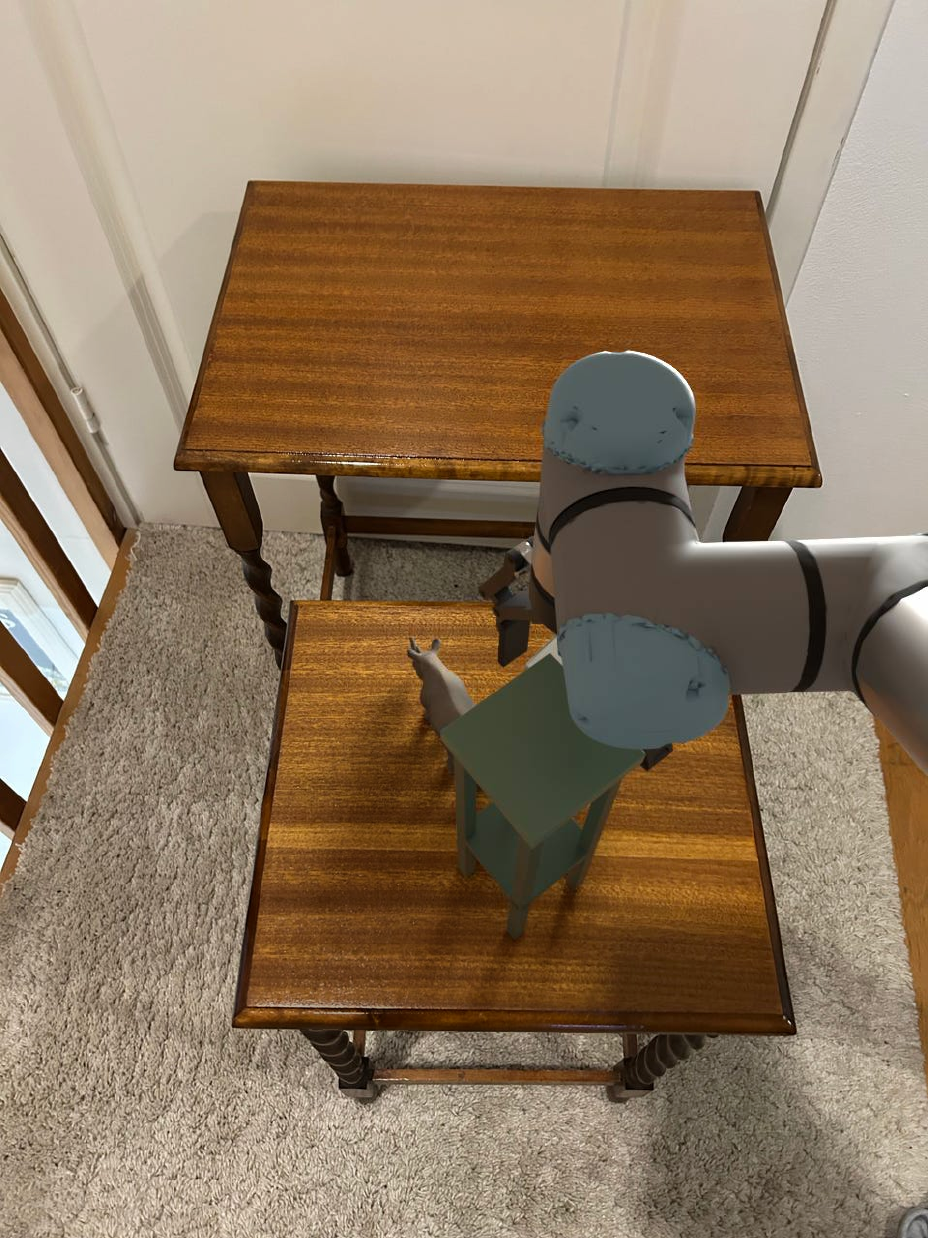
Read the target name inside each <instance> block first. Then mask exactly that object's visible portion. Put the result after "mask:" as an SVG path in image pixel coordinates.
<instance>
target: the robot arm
mask: <svg viewBox="0 0 928 1238" xmlns="http://www.w3.org/2000/svg"><path fill="white" fill-rule="evenodd" d="M548 401H549V402H548V406H547V410H546V416H545V421H543V422H542V423H541V424H542V425H541V433H542V434H541V435H542V437H543V442H542V455H541V469H540V480H539V494H538V505H537V511H536V517H535V518H536V519H535V526H534V534H533V535H531V536H529V537H528V538H526V539H525V540H523V541H522V542H521V543H519V544H518V545H516V546H514V547H513V548H511V549H510V550H507V552H505V553H504V558H503V565H502V567H500V568H499V569H498V570H497V571H496V572H495V573H494V574H492V576H490V577H489V578H488V579H487V580H485V581H484V582H483V583H482V584H481V585H479V587H478V588H477V592H478V595H479V596H480V597H481V598H482V599H483V600H484V601H488V600H490V601H491V602H492V603H493V606H492V607H491V610H492V612H493V615H494V617H495V628H496V631H497V632H498V645H497V664H499V665H500V666H501V667H502V669H504V668H505V667H506V666H508V665H510V664H511V663H512V662H514V661H515V660H516V659H518V658H519V657H521V656H522V655H523V654H525V653H526V652H528V648H529V638H530V628H531V624H532V625H543V626H544V627H545V628H546V629H547V630H549V631H550V632H551V633H553V634H555V635H557V652H558V655H559V656H561V659H562V665H563V672H564V678H565V685H566V692H567V698H568V704H569V711H570V714H571V717H572V719H573V721H574V722H575V724H576V725H577V727H578V728H579V729H580V730H581V731H582V732H583V733H584V734H586V735H587V736H588V737H590V738H592V739H593V740H596V741H598V742H600V743H603V744H606V745H609V746H613V747H618V748H626V749H642V750H643V751H644V752H645V754H646V755H645V757H644V760H643V762H642V763H641V764H640V765H639V766H640V767H641V768H642V769H643V770H644V771H646V772H649V771H650V770H651V769H653V768H654V767H655V766H656V765H658V764H659V763H660V762H661V761H663V760H664V759H665V758H666V757H668V756H669V755H670V754H671V753H673V752H674V745H673V744H685V743H689V742H692V741H694V740H696V739H699V738H701V737H703V736H705V735H708V733H710V732H712V731H713V730H714V729H715V728H716V727H717V726H719V725H720V724H721V723H722V722H723V720H724V719H725V717H726V716H727V713H728V710H729V705H730V698H729V696H738V695H770V694H771V695H772V694H773V695H774V694H788V693H833V692H838V693H839V692H840V693H841V692H850V693H853V694H854V695H855V697H857V698H858V700H859V701H860V702H861V703H862V704H863V705H864V707H865V708H866V709H867V710H868V711H869V712H870V713H871V715H873V716H874V717H875V718H876V719H877V721H879V722H880V723H881V724H882V726H883V727H884V728H885V729H886V731H888V733H890V735H891V736H892V737H893V739H894V740H895V741H896V742H897V743H898V745H900V746H901V747H902V749H903V750H904V751H905V752H906V754H907V755H908V756H909V757H910V758H911V760H913V762H914V763H915V764H916V765H917V766H918V768H919V769H920V770H921V771H922V772H923V774H924V775H926V777H927V778H928V532H925V533H915V534H911V535H896V536H895V535H894V536H873V537H872V536H871V537H870V536H869V537H848V538H847V537H846V538H821V539H796V540H793V539H791V540H788V539H787V540H772V541H771V540H770V541H768V540H767V541H766V540H764V541H725V542H701V541H700V539H699V535H698V532H697V526H696V522H695V516H694V514H693V511H692V506H691V501H690V496H689V491H688V485H687V481H686V473H685V462H686V455H688V454H689V453H690V452H691V449H692V445H693V444H694V439H695V437H694V426H695V419H696V412H697V411H696V408H697V407H696V401H695V396H694V393H693V391H692V389H691V387H690V385H689V384H688V382H687V381H686V379H685V378H684V377H683V376H682V374H681V373H679V372H678V371H677V369H675V368H674V367H672V365H670V364H668V363H666V362H665V361H663V360H661V359H659V358H657V357H655V356H653V355H649V354H646V353H643V352H638V351H632V350H626V351H620V352H619V351H612V352H610V351H602V352H596V353H593V354H589V355H587V356H584V357H582V358H580V359H578V360H576V361H575V362H573V363H572V364H570V365H569V366H568V367H567V368H566V369H564V370H563V371H562V372H561V374H560V375H559V376H558V378H557V379H556V380H555V382H554V384H553V386H552V389H551V392H550V395H549V399H548ZM523 576H525V577H526V578H529V581H528V582H529V583H528V590H527V589H526V588H525V586H521V587H520V588H518V589H517V590H516V591H514V592H513V591H512V589H511V588H510V587H509V586H511V585H512V584H513V583H515V582H516V581H517V580H518V579H520V578H521V577H523Z"/></svg>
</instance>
